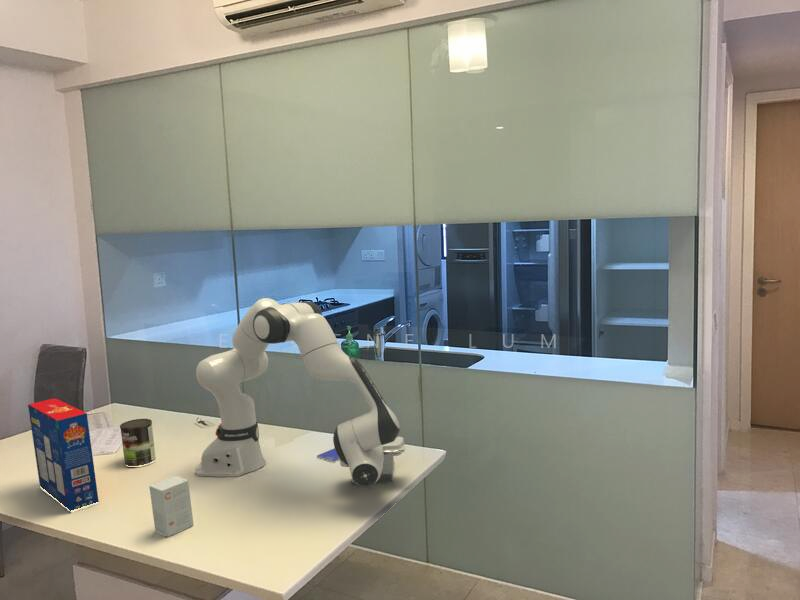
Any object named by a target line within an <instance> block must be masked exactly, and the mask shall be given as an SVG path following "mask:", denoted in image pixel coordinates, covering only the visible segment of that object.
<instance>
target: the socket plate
mask: <svg viewBox="0 0 800 600" xmlns="http://www.w3.org/2000/svg"><path fill="white" fill-rule="evenodd" d="M394 464H395V462H394V456H387V457H384V460H383V469H382V473H381V476H380V478H379V480H378V481H377V482H376V483H377V484H378V483H380V484H381V483H392V482H393V478H394ZM351 480H352V481H351V482H352V485H357V484H356V483H355V482H354V481H353V479H352V478H351ZM376 483H375V484H376Z"/></svg>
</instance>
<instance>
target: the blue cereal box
mask: <svg viewBox="0 0 800 600" xmlns="http://www.w3.org/2000/svg"><path fill="white" fill-rule="evenodd" d="M27 407H28V408H27V409H28V413H29V414H28V415H29V421H30V426H31V434H32V442H33V449H34V455H35V461H36V468H37V475H38V482H39V487H40V486H41V487H42V488H43V489H45V490H46V491H47V492H48V493H49V494H51V495H52V496H53V497H54V498H56V499H57V500H58V501H59V502H60V503H62V504H63V505H64V506H65V507H67V508H68V509H69V510H70V511H71V510H74V509H78V508H81V507H83V506H87V505H90V504H93V503H96V502H99V495H98V487H97V480H96V473H95V465H94V457H93V449H92V442H91V434H90V427H89V420H88V413H87V412H85V411H83V410H81V409H78V408H77V407H74V405H73V406H72V405H70V404H69V403H67V402H64V401H62V400H60V399H58V398H50V399H46V400H41V401H36V402H33V403H28V404H27ZM99 503H100V502H99Z"/></svg>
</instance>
